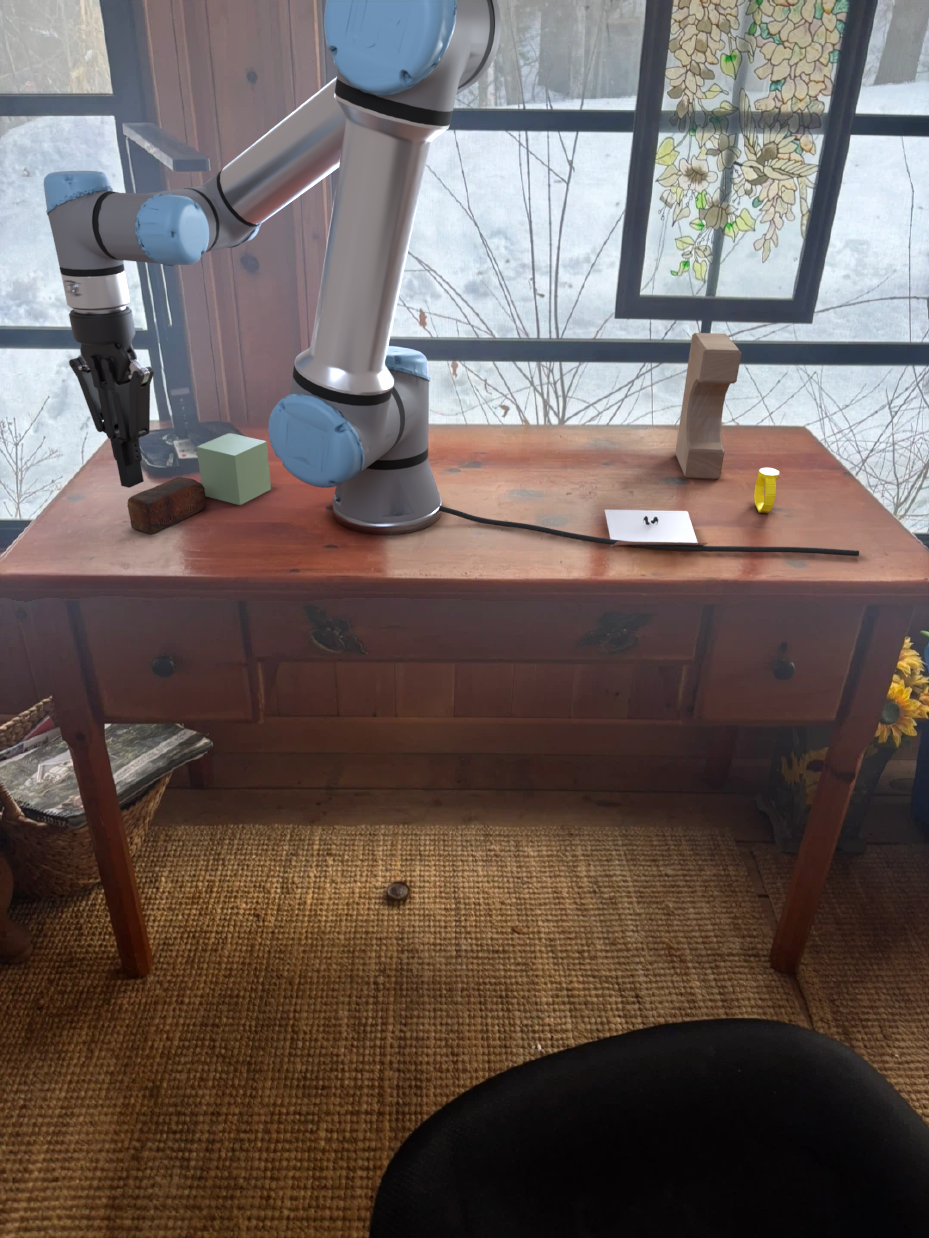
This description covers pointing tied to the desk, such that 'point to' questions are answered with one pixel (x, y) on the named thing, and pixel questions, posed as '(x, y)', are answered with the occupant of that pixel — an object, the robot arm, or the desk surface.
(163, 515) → the brick
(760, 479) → the watch
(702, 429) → the decorative block
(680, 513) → the folded paper
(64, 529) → the desk surface
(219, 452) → the green block
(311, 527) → the desk surface
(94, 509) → the desk surface
